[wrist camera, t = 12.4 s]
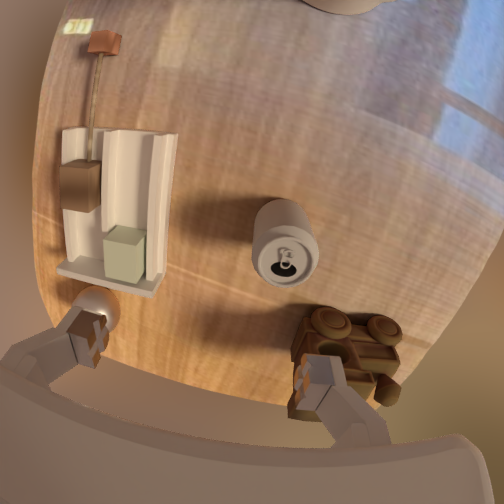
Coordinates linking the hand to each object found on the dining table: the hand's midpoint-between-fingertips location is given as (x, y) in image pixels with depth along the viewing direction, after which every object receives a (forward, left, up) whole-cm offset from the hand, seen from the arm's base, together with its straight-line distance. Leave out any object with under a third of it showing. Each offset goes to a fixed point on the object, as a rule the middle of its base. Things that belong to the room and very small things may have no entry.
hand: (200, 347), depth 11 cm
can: (+6, +6, -31) cm, 32 cm away
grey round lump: (+26, -22, -31) cm, 46 cm away
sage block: (+13, -15, -29) cm, 35 cm away
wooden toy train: (+24, +22, -31) cm, 45 cm away
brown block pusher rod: (-6, -22, -31) cm, 38 cm away
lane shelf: (+7, -18, -31) cm, 37 cm away
